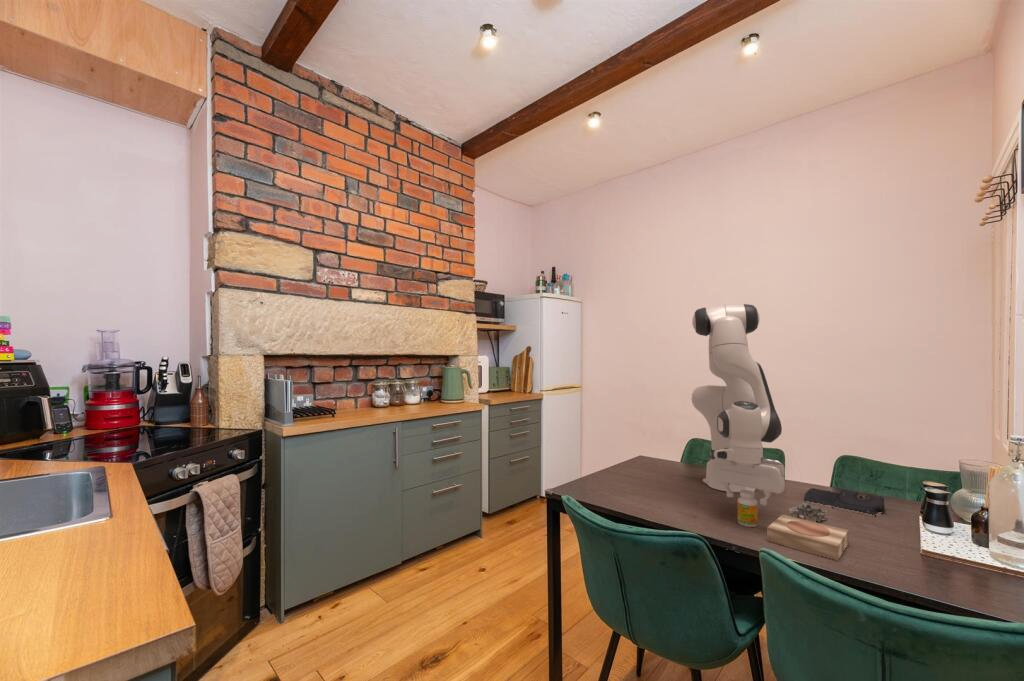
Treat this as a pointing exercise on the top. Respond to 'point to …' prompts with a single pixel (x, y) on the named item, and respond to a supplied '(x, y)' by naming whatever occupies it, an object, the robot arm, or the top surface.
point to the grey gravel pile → (807, 512)
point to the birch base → (808, 536)
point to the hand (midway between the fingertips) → (746, 501)
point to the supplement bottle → (747, 509)
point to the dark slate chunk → (846, 500)
